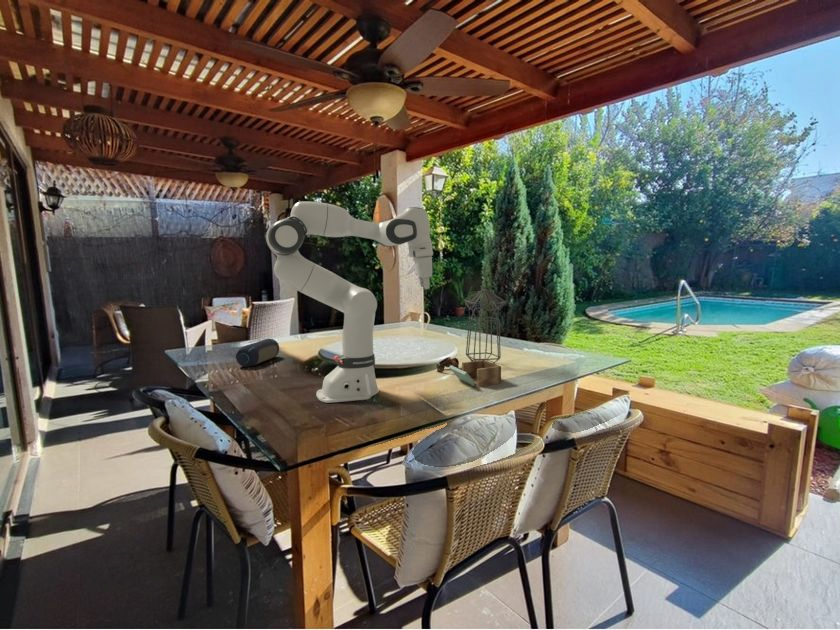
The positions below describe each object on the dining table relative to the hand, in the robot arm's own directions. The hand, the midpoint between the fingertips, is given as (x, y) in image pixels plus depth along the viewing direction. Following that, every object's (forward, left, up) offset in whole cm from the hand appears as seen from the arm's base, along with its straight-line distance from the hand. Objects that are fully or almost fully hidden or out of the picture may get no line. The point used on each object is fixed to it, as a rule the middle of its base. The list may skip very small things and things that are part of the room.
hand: (425, 287), depth 163 cm
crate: (+18, -11, -38) cm, 43 cm away
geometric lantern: (+35, +12, -38) cm, 53 cm away
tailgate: (+12, -11, -36) cm, 40 cm away
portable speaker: (-56, +69, -38) cm, 96 cm away
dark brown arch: (+15, +8, -38) cm, 42 cm away
